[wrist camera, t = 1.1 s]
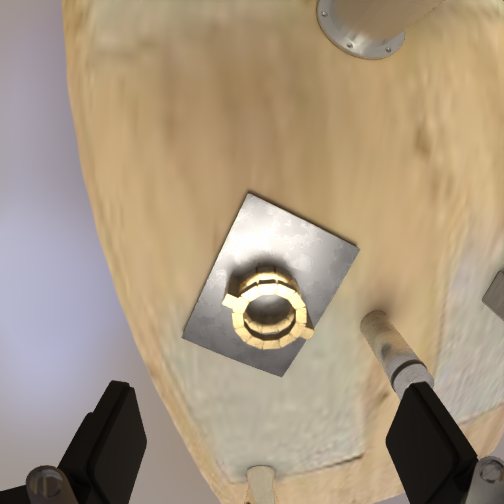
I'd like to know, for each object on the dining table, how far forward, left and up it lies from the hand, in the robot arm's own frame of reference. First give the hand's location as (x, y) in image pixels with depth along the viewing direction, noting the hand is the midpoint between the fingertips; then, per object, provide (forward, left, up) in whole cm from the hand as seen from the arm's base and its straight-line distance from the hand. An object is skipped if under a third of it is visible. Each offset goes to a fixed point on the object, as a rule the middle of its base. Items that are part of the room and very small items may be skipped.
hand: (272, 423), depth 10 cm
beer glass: (+46, +23, -33) cm, 61 cm away
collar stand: (+8, +5, -32) cm, 34 cm away
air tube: (+6, +22, -32) cm, 40 cm away
